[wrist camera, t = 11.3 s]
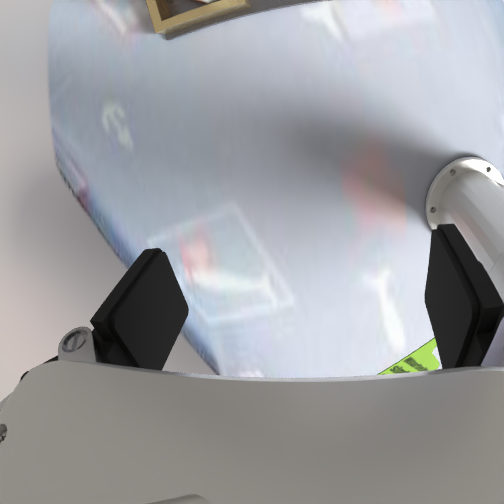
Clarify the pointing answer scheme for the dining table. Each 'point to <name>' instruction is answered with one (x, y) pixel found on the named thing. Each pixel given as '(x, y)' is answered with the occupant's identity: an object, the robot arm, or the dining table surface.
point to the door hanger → (416, 361)
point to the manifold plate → (206, 13)
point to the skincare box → (207, 1)
